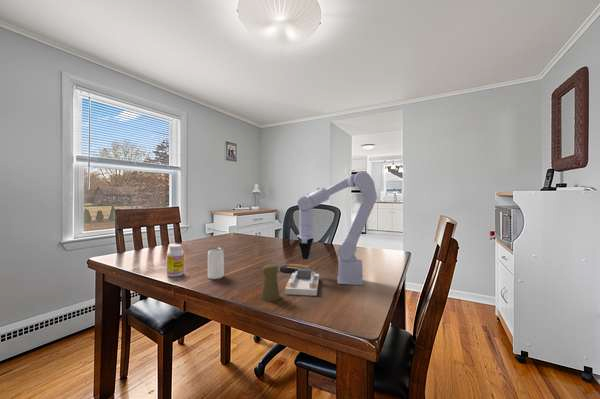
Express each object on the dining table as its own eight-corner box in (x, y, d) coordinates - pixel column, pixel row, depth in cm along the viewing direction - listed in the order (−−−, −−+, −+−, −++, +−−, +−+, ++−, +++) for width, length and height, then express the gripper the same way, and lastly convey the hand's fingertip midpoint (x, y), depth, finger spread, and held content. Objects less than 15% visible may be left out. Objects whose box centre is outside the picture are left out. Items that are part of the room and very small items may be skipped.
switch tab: (311, 275, 100) (311, 268, 100) (310, 278, 96) (310, 271, 96) (298, 275, 101) (298, 267, 101) (297, 278, 97) (297, 270, 97)
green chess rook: (271, 302, 80) (271, 268, 80) (257, 298, 83) (257, 265, 83) (283, 296, 85) (282, 264, 85) (269, 292, 88) (269, 261, 88)
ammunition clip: (300, 274, 109) (311, 268, 120) (300, 270, 109) (311, 264, 120) (279, 271, 114) (292, 265, 124) (279, 267, 114) (292, 261, 124)
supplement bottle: (172, 278, 105) (172, 247, 104) (163, 275, 108) (163, 245, 108) (187, 273, 110) (187, 244, 110) (178, 271, 114) (178, 243, 114)
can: (227, 276, 107) (227, 248, 107) (214, 280, 101) (214, 251, 101) (217, 273, 110) (216, 246, 110) (204, 277, 105) (204, 249, 105)
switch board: (319, 278, 104) (319, 270, 103) (316, 295, 86) (316, 285, 86) (292, 277, 105) (292, 269, 105) (284, 294, 87) (284, 283, 87)
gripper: (298, 223, 113) (298, 253, 113) (294, 227, 99) (294, 261, 99) (314, 223, 112) (314, 253, 112) (312, 227, 98) (312, 261, 98)
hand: (306, 257), depth 106 cm, fingers open, 6 cm apart
